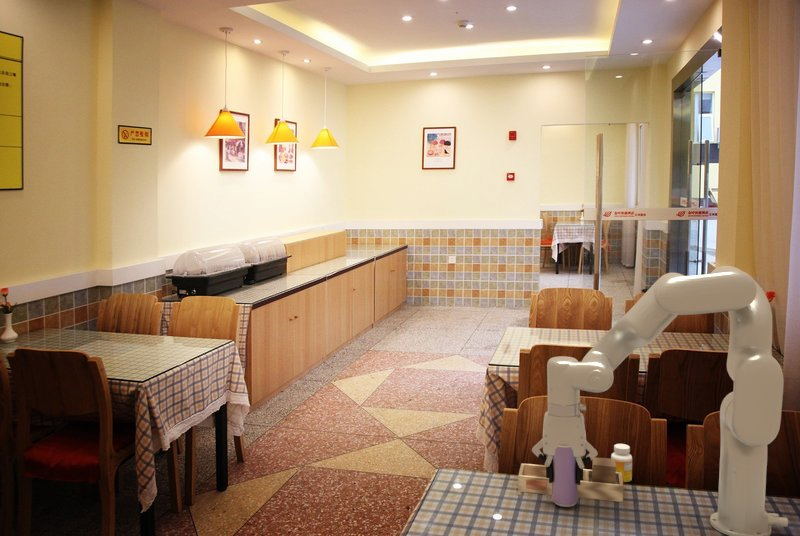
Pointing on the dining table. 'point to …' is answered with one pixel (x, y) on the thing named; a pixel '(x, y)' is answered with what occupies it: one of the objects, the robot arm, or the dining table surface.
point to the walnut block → (604, 470)
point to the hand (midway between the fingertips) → (564, 481)
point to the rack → (536, 482)
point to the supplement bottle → (623, 461)
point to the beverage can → (564, 477)
